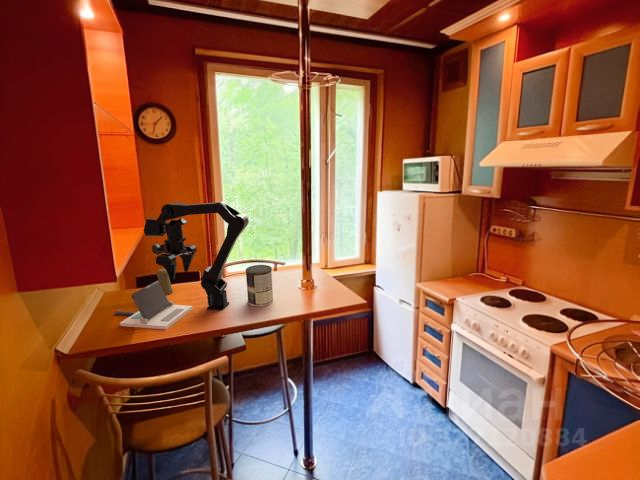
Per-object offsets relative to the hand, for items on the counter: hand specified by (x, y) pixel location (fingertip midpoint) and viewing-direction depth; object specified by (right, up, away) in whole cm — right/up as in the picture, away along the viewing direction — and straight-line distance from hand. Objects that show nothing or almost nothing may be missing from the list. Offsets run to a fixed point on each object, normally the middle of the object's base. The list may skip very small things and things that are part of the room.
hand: (179, 275), depth 134 cm
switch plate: (-10, -15, -5) cm, 18 cm away
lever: (-6, -13, -6) cm, 15 cm away
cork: (-13, -10, +17) cm, 24 cm away
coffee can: (+30, -12, +6) cm, 33 cm away
